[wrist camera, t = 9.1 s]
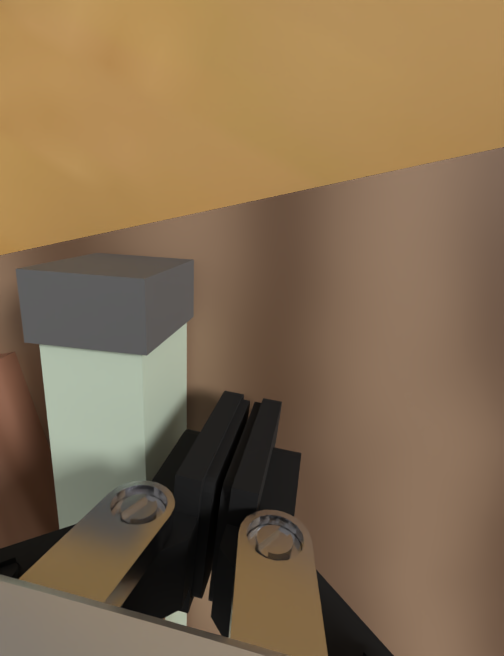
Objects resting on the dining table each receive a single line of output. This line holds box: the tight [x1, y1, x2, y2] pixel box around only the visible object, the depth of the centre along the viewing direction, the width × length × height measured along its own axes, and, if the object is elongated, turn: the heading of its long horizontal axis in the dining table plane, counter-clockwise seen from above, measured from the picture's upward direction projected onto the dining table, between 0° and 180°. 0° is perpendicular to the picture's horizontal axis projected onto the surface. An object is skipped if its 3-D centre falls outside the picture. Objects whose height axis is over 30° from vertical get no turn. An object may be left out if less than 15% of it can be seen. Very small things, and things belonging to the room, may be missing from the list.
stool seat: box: [0, 147, 504, 656], centre depth 13 cm, size 22×18×6 cm
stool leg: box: [16, 253, 194, 626], centre depth 12 cm, size 16×3×3 cm, turn 178°
